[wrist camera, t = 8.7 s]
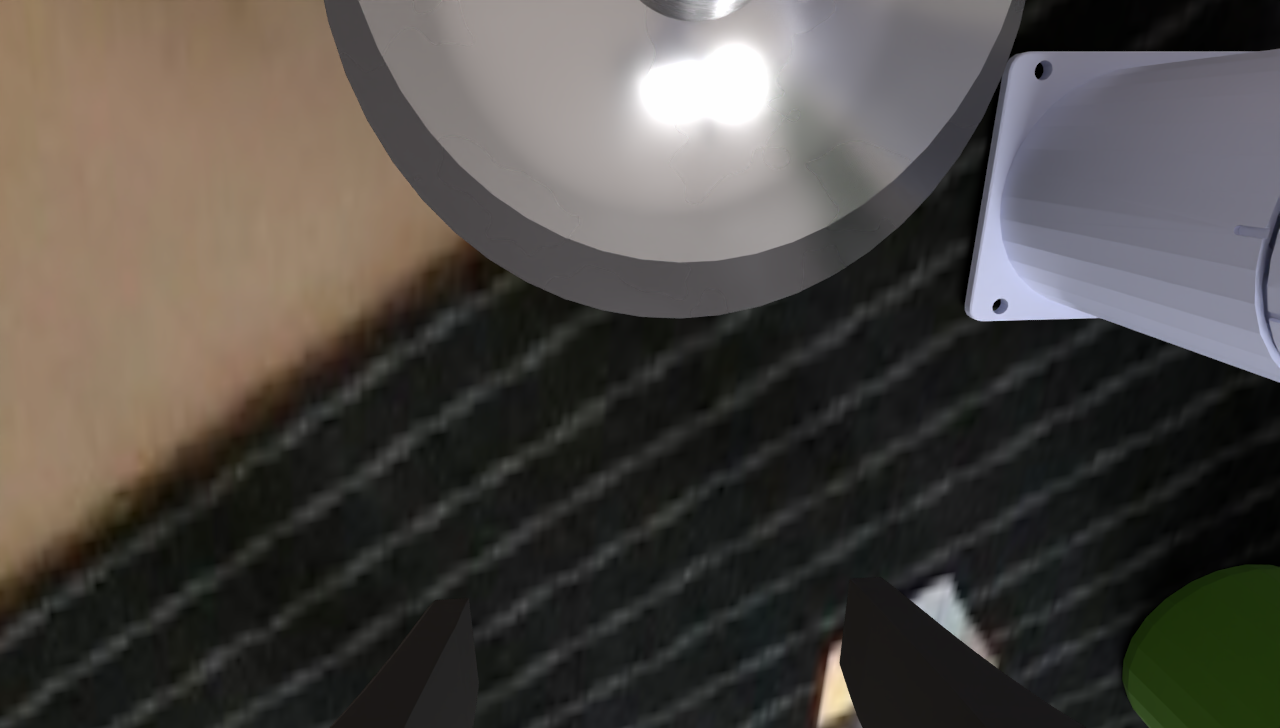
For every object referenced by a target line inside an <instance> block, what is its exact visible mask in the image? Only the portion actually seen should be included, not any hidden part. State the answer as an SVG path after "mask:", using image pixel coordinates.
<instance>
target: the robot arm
mask: <svg viewBox="0 0 1280 728" xmlns="http://www.w3.org/2000/svg"><path fill="white" fill-rule="evenodd" d="M1039 63H1041V64H1042V66H1043V71H1044V72H1043V74H1042V76H1041V78H1039V79H1037V78H1036V76H1035V68H1036V66H1037V65H1038V64H1039ZM997 299H1001V304H1000V306H999V308H998V309H996V310H994V311H993V309H992V306H993V304H994V302H995V301H996V300H997ZM965 311H966V313H967V315H968V316H970V317H971V318H973V319H975V320H978V321H1007V320H1044V319H1082V318H1101V319H1104V320H1107V321H1110V322H1113V323H1115V324H1118V325H1121V326H1124V327H1127V328H1129V329H1132V330H1135V331H1138V332H1140V333H1143V334H1146V335H1149V336H1152V337H1154V338H1157V339H1160V340H1163V341H1166V342H1168V343H1171V344H1174V345H1177V346H1179V347H1182V348H1185V349H1188V350H1191V351H1193V352H1196V353H1199V354H1202V355H1205V356H1207V357H1210V358H1213V359H1216V360H1218V361H1221V362H1224V363H1227V364H1230V365H1232V366H1235V367H1238V368H1241V369H1244V370H1246V371H1249V372H1252V373H1255V374H1257V375H1260V376H1263V377H1266V378H1269V379H1271V380H1274V381H1277V382H1280V49H1274V50H1266V51H1029V52H1024V53H1019V54H1016V55H1014V56H1013V57H1011V58H1010V59H1009V60H1008V62H1007V64H1006V67H1005V70H1004V73H1003V75H1002V81H1001V87H1000V93H999V99H998V105H997V111H996V117H995V123H994V129H993V136H992V142H991V148H990V154H989V160H988V166H987V172H986V178H985V184H984V190H983V196H982V202H981V208H980V215H979V221H978V227H977V233H976V239H975V245H974V251H973V257H972V263H971V269H970V275H969V281H968V287H967V294H966V300H965ZM840 666H841V669H842V672H843V676H844V679H845V682H846V685H847V688H848V691H849V694H850V697H851V699H852V702H853V705H854V708H855V711H856V714H857V716H858V719H859V721H860V723H861V725H862V727H863V728H1086V727H1084V726H1083V725H1081V724H1080V723H1078V722H1076V721H1075V720H1073V719H1071V718H1070V717H1068V716H1067V715H1065V714H1063V713H1062V712H1060V711H1059V710H1057V709H1055V708H1054V707H1052V706H1051V705H1049V704H1048V703H1046V702H1045V701H1043V700H1042V699H1040V698H1039V697H1037V696H1036V695H1034V694H1033V693H1031V692H1030V691H1029V690H1027V689H1026V688H1024V687H1023V686H1021V685H1020V684H1019V683H1017V682H1016V681H1014V680H1013V679H1012V678H1010V677H1009V676H1007V675H1006V674H1004V673H1003V672H1002V671H1000V670H999V669H997V668H996V667H995V666H993V665H992V664H991V663H989V662H988V661H987V660H985V659H984V658H983V657H981V656H980V655H979V654H977V653H976V652H975V651H973V650H972V649H971V648H969V647H968V646H967V645H966V644H964V643H963V642H962V641H960V640H959V639H958V638H957V637H955V636H954V635H953V634H952V633H950V632H949V631H948V630H946V629H945V628H944V627H943V626H941V625H940V624H939V623H938V622H936V621H935V620H934V619H933V618H932V617H930V616H929V615H928V614H927V613H925V612H924V611H923V610H922V609H920V608H919V607H918V606H917V605H915V604H914V603H913V602H912V601H911V600H909V599H908V598H907V597H906V596H904V595H903V594H902V593H901V592H899V591H898V590H897V589H896V588H894V587H893V586H892V585H891V584H889V583H888V582H887V581H885V580H884V579H883V578H881V577H873V578H853V579H850V581H849V589H848V597H847V606H846V614H845V622H844V630H843V639H842V647H841V655H840ZM478 688H479V682H478V673H477V665H476V656H475V648H474V639H473V631H472V622H471V614H470V605H469V598H467V599H447V600H435V601H434V602H433V603H432V604H431V605H430V606H429V607H428V609H427V610H426V611H425V613H424V614H423V615H422V617H421V618H420V619H419V621H418V622H417V623H416V625H415V626H414V627H413V629H412V630H411V631H410V633H409V634H408V635H407V637H406V638H405V639H404V640H403V642H402V643H401V644H400V646H399V647H398V648H397V649H396V651H395V652H394V653H393V655H392V656H391V657H390V658H389V660H388V661H387V662H386V663H385V664H384V666H383V667H382V668H381V669H380V671H379V672H378V673H377V674H376V675H375V677H374V678H373V679H372V680H371V681H370V683H369V684H368V685H367V686H366V687H365V689H364V690H363V691H362V692H361V693H360V695H359V696H358V697H357V698H356V699H355V700H354V701H353V702H352V704H351V705H350V706H349V707H348V708H347V709H346V710H345V711H344V712H343V714H342V715H341V716H340V717H339V718H338V719H337V720H336V721H335V722H334V723H333V725H332V726H331V727H330V728H473V724H474V717H475V710H476V703H477V695H478Z"/></svg>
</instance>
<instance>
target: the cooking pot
mask: <svg viewBox="0 0 1280 728" xmlns="http://www.w3.org/2000/svg"><path fill="white" fill-rule="evenodd" d="M324 3H325V8H326V12H327V17H328V22H329V25H330V28H331V31H332V34H333V37H334V40H335V43H336V46H337V49H338V52H339V55H340V58H341V61H342V64H343V67H344V70H345V73H346V76H347V78H348V80H349V82H350V84H351V86H352V88H353V91H354V93H355V95H356V97H357V99H358V101H359V103H360V106H361V108H362V110H363V112H364V114H365V116H366V119H367V121H368V122H369V124H370V125H371V127H372V129H373V130H374V132H375V134H376V135H377V137H378V139H379V140H380V142H381V143H382V145H383V147H384V148H385V150H386V152H387V153H388V155H389V156H390V158H391V160H392V161H393V163H394V164H395V165H396V167H397V168H398V169H399V171H400V172H401V173H402V174H403V176H404V177H405V178H406V179H407V181H408V182H409V183H410V185H411V186H412V187H413V188H414V190H415V191H416V192H417V193H418V195H419V196H420V197H421V199H422V200H423V201H424V202H425V203H426V204H427V205H428V206H429V207H430V208H431V209H432V210H433V211H434V212H435V213H436V214H437V215H438V216H439V217H440V218H441V219H442V220H443V221H444V222H445V223H446V224H447V225H448V226H449V227H450V228H451V229H452V230H453V231H454V232H455V233H456V234H458V235H459V236H460V237H462V238H463V239H464V240H465V241H467V242H468V243H469V244H470V245H472V246H473V247H474V248H476V249H477V250H478V251H479V252H481V253H482V254H483V255H484V256H486V257H487V258H488V259H490V260H491V261H493V262H494V263H496V264H498V265H499V266H501V267H503V268H504V269H506V270H508V271H509V272H511V273H513V274H514V275H516V276H518V277H519V278H521V279H523V280H524V281H526V282H528V283H530V284H533V285H535V286H537V287H539V288H542V289H544V290H546V291H548V292H550V293H553V294H555V295H557V296H559V297H562V298H564V299H567V300H571V301H574V302H577V303H581V304H584V305H587V306H590V307H594V308H597V309H600V310H604V311H610V312H616V313H622V314H628V315H634V316H640V317H660V318H691V317H702V316H713V315H722V314H727V313H731V312H736V311H740V310H745V309H750V308H754V307H759V306H762V305H765V304H768V303H770V302H773V301H776V300H779V299H782V298H785V297H787V296H790V295H793V294H796V293H798V292H800V291H802V290H804V289H806V288H808V287H810V286H812V285H814V284H816V283H818V282H820V281H822V280H824V279H826V278H828V277H830V276H832V275H834V274H836V273H837V272H839V271H840V270H842V269H843V268H845V267H847V266H848V265H850V264H851V263H853V262H854V261H856V260H857V259H859V258H860V257H862V256H863V255H865V254H866V253H868V252H869V251H870V250H872V249H873V248H874V247H875V246H876V245H878V244H879V243H880V242H881V241H882V240H884V239H885V238H886V237H887V236H888V235H890V234H891V233H892V232H893V231H894V230H895V229H897V228H898V227H899V226H900V225H901V224H902V223H903V222H904V221H905V220H906V219H907V218H908V217H909V216H910V215H911V214H912V213H913V212H914V211H915V210H916V209H917V208H918V207H919V206H920V204H921V203H922V202H923V201H924V200H925V199H926V198H927V197H928V196H929V195H930V194H931V193H932V192H933V190H934V189H935V188H936V186H937V185H938V184H939V182H940V181H941V180H942V178H943V177H944V176H945V175H946V173H947V172H948V171H949V169H950V168H951V167H952V165H953V164H954V163H955V161H956V160H957V159H958V157H959V156H960V154H961V153H962V151H963V149H964V148H965V146H966V144H967V143H968V141H969V139H970V138H971V136H972V134H973V133H974V131H975V129H976V128H977V126H978V124H979V123H980V121H981V119H982V118H983V116H984V114H985V112H986V110H987V107H988V105H989V103H990V101H991V99H992V97H993V94H994V92H995V90H996V88H997V86H998V84H999V81H1000V79H1001V77H1002V75H1003V73H1004V70H1005V67H1006V64H1007V61H1008V58H1009V55H1010V52H1011V50H1012V47H1013V44H1014V41H1015V38H1016V35H1017V32H1018V29H1019V26H1020V22H1021V18H1022V13H1023V9H1024V5H1025V0H1012V1H1011V4H1010V7H1009V9H1008V12H1007V15H1006V18H1005V20H1004V23H1003V26H1002V29H1001V31H1000V33H999V35H998V37H997V39H996V41H995V43H994V45H993V47H992V49H991V51H990V53H989V55H988V57H987V59H986V61H985V64H984V66H983V68H982V70H981V72H980V74H979V75H978V77H977V78H976V80H975V81H974V83H973V85H972V86H971V88H970V89H969V91H968V93H967V94H966V96H965V97H964V99H963V101H962V102H961V104H960V105H959V107H958V108H957V110H956V112H955V113H954V114H953V116H952V117H951V118H950V119H949V121H948V122H947V123H946V124H945V126H944V127H943V128H942V129H941V131H940V132H939V133H938V134H937V136H936V137H935V138H934V139H933V141H932V142H931V143H930V144H929V146H928V147H927V148H926V149H925V150H924V151H923V152H922V153H921V154H920V155H919V156H918V157H917V158H916V159H915V160H914V161H913V162H912V163H911V164H910V165H909V166H908V167H907V168H906V169H905V170H904V171H903V172H902V173H901V174H900V175H899V176H898V177H897V178H896V179H895V180H893V181H892V182H891V183H890V184H888V185H887V186H886V187H885V188H883V189H882V190H881V191H880V192H878V193H877V194H876V195H875V196H873V197H872V198H871V199H870V200H868V201H867V202H866V203H865V204H863V205H862V206H860V207H858V208H857V209H855V210H853V211H852V212H850V213H849V214H847V215H845V216H844V217H842V218H841V219H839V220H837V221H836V222H834V223H832V224H831V225H829V226H827V227H825V228H823V229H820V230H818V231H816V232H814V233H812V234H810V235H807V236H805V237H803V238H801V239H799V240H797V241H794V242H792V243H789V244H785V245H782V246H779V247H776V248H773V249H770V250H766V251H763V252H760V253H757V254H752V255H747V256H741V257H736V258H730V259H724V260H719V261H701V262H680V263H679V262H667V261H655V260H643V259H637V258H632V257H628V256H623V255H619V254H614V253H610V252H605V251H601V250H598V249H595V248H593V247H590V246H587V245H584V244H582V243H579V242H576V241H573V240H571V239H568V238H565V237H563V236H561V235H559V234H557V233H555V232H553V231H551V230H549V229H547V228H545V227H543V226H541V225H539V224H538V223H536V222H534V221H532V220H530V219H528V218H526V217H525V216H523V215H522V214H520V213H519V212H517V211H516V210H515V209H513V208H512V207H510V206H509V205H507V204H506V203H504V202H503V201H501V200H500V199H499V198H497V197H496V196H494V195H493V194H491V193H490V192H489V191H488V190H487V189H486V188H485V187H484V186H482V185H481V184H480V183H479V182H478V181H477V180H476V179H475V178H473V177H472V176H471V175H470V174H469V173H468V172H467V171H465V170H464V169H463V168H462V167H461V166H460V165H459V164H458V163H457V162H456V161H455V160H454V159H453V157H452V156H451V155H450V154H449V153H448V152H447V151H446V150H445V148H444V147H443V146H442V145H441V144H440V143H439V142H438V141H437V139H436V138H435V137H434V136H433V135H432V134H431V133H430V132H429V130H428V129H427V128H426V126H425V125H424V123H423V122H422V120H421V119H420V118H419V116H418V115H417V113H416V112H415V110H414V109H413V108H412V106H411V105H410V103H409V102H408V100H407V99H406V98H405V96H404V95H403V93H402V92H401V90H400V88H399V86H398V85H397V83H396V81H395V79H394V77H393V75H392V74H391V72H390V70H389V68H388V66H387V64H386V62H385V61H384V59H383V57H382V55H381V53H380V51H379V49H378V48H377V45H376V43H375V40H374V38H373V35H372V33H371V30H370V28H369V25H368V23H367V20H366V18H365V16H364V13H363V11H362V8H361V6H360V3H359V1H358V0H324Z"/></svg>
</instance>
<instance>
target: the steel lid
mask: <svg viewBox="0 0 1280 728" xmlns="http://www.w3.org/2000/svg"><path fill="white" fill-rule="evenodd" d="M358 1H359V3H360V6H361V8H362V11H363V13H364V16H365V18H366V20H367V23H368V25H369V28H370V30H371V33H372V35H373V38H374V40H375V43H376V45H377V48H378V49H379V51H380V53H381V55H382V57H383V59H384V61H385V62H386V64H387V66H388V68H389V70H390V72H391V74H392V75H393V77H394V79H395V81H396V83H397V85H398V86H399V88H400V90H401V92H402V93H403V95H404V96H405V98H406V99H407V100H408V102H409V103H410V105H411V106H412V108H413V109H414V110H415V112H416V113H417V115H418V116H419V118H420V119H421V120H422V122H423V123H424V125H425V126H426V128H427V129H428V130H429V132H430V133H431V134H432V135H433V136H434V137H435V138H436V139H437V141H438V142H439V143H440V144H441V145H442V146H443V147H444V148H445V150H446V151H447V152H448V153H449V154H450V155H451V156H452V157H453V159H454V160H455V161H456V162H457V163H458V164H459V165H460V166H461V167H462V168H463V169H464V170H465V171H467V172H468V173H469V174H470V175H471V176H472V177H473V178H475V179H476V180H477V181H478V182H479V183H480V184H481V185H482V186H484V187H485V188H486V189H487V190H488V191H489V192H490V193H491V194H493V195H494V196H496V197H497V198H499V199H500V200H501V201H503V202H504V203H506V204H507V205H509V206H510V207H512V208H513V209H515V210H516V211H517V212H519V213H520V214H522V215H523V216H525V217H526V218H528V219H530V220H532V221H534V222H536V223H538V224H539V225H541V226H543V227H545V228H547V229H549V230H551V231H553V232H555V233H557V234H559V235H561V236H563V237H565V238H568V239H571V240H573V241H576V242H579V243H582V244H584V245H587V246H590V247H593V248H595V249H598V250H601V251H605V252H610V253H614V254H619V255H623V256H628V257H632V258H637V259H643V260H655V261H667V262H679V263H680V262H701V261H719V260H724V259H730V258H736V257H741V256H747V255H752V254H757V253H760V252H763V251H766V250H770V249H773V248H776V247H779V246H782V245H785V244H789V243H792V242H794V241H797V240H799V239H801V238H803V237H805V236H807V235H810V234H812V233H814V232H816V231H818V230H820V229H823V228H825V227H827V226H829V225H831V224H832V223H834V222H836V221H837V220H839V219H841V218H842V217H844V216H845V215H847V214H849V213H850V212H852V211H853V210H855V209H857V208H858V207H860V206H862V205H863V204H865V203H866V202H867V201H868V200H870V199H871V198H872V197H873V196H875V195H876V194H877V193H878V192H880V191H881V190H882V189H883V188H885V187H886V186H887V185H888V184H890V183H891V182H892V181H893V180H895V179H896V178H897V177H898V176H899V175H900V174H901V173H902V172H903V171H904V170H905V169H906V168H907V167H908V166H909V165H910V164H911V163H912V162H913V161H914V160H915V159H916V158H917V157H918V156H919V155H920V154H921V153H922V152H923V151H924V150H925V149H926V148H927V147H928V146H929V144H930V143H931V142H932V141H933V139H934V138H935V137H936V136H937V134H938V133H939V132H940V131H941V129H942V128H943V127H944V126H945V124H946V123H947V122H948V121H949V119H950V118H951V117H952V116H953V114H954V113H955V112H956V110H957V108H958V107H959V105H960V104H961V102H962V101H963V99H964V97H965V96H966V94H967V93H968V91H969V89H970V88H971V86H972V85H973V83H974V81H975V80H976V78H977V77H978V75H979V74H980V72H981V70H982V68H983V66H984V64H985V61H986V59H987V57H988V55H989V53H990V51H991V49H992V47H993V45H994V43H995V41H996V39H997V37H998V35H999V33H1000V31H1001V29H1002V26H1003V23H1004V20H1005V18H1006V15H1007V12H1008V9H1009V7H1010V4H1011V1H1012V0H358Z"/></svg>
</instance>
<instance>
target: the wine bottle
mask: <svg viewBox="0 0 1280 728" xmlns="http://www.w3.org/2000/svg"><path fill="white" fill-rule="evenodd" d="M1122 680H1123V684H1124V687H1125V690H1126V694H1127V697H1128V699H1129V701H1130V703H1131V705H1132V707H1133V709H1134V710H1135V711H1136V713H1137V714H1138V715H1139V716H1140V717H1141V719H1142V720H1143V721H1144V722H1145V723H1146V724H1147V726H1148V727H1149V728H1280V567H1277V566H1274V565H1241V566H1236V567H1232V568H1227V569H1222V570H1218V571H1216V572H1213V573H1211V574H1209V575H1206V576H1204V577H1201V578H1199V579H1197V580H1194V581H1192V582H1190V583H1189V584H1187V585H1186V586H1184V587H1183V588H1181V589H1180V590H1178V591H1177V592H1175V593H1173V594H1172V595H1170V596H1169V597H1167V598H1166V599H1165V600H1164V601H1163V602H1162V603H1161V604H1160V605H1159V606H1158V607H1157V608H1156V609H1155V610H1154V611H1152V612H1151V613H1150V614H1149V615H1148V616H1147V617H1146V619H1145V620H1144V621H1143V623H1142V624H1141V626H1140V627H1139V629H1138V630H1137V632H1136V633H1135V634H1134V636H1133V637H1132V639H1131V642H1130V644H1129V647H1128V649H1127V652H1126V655H1125V657H1124V661H1123V675H1122Z"/></svg>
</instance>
